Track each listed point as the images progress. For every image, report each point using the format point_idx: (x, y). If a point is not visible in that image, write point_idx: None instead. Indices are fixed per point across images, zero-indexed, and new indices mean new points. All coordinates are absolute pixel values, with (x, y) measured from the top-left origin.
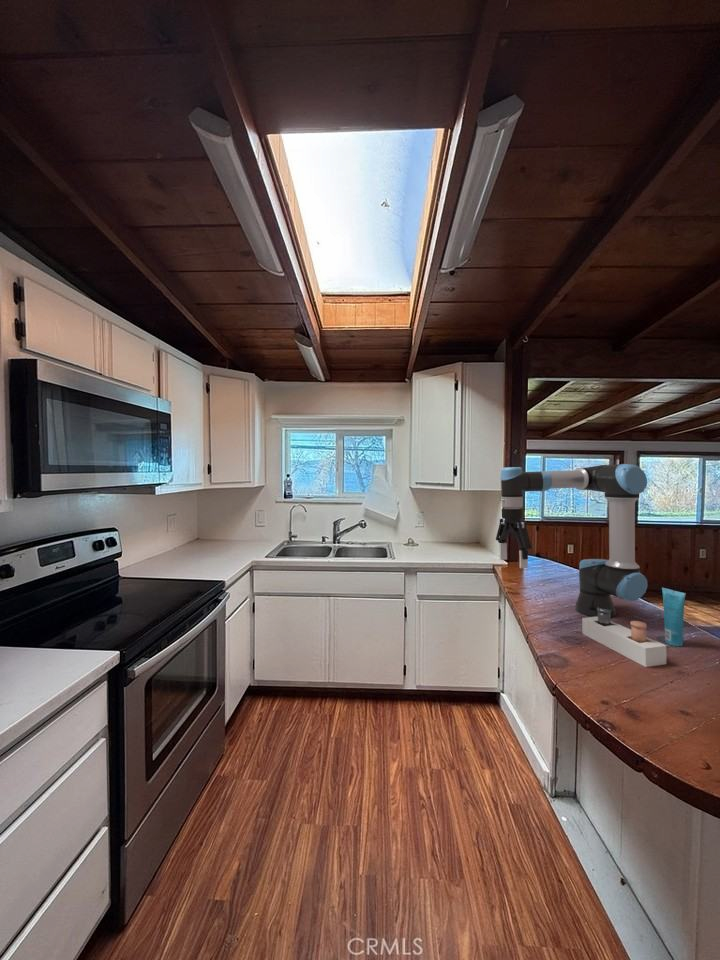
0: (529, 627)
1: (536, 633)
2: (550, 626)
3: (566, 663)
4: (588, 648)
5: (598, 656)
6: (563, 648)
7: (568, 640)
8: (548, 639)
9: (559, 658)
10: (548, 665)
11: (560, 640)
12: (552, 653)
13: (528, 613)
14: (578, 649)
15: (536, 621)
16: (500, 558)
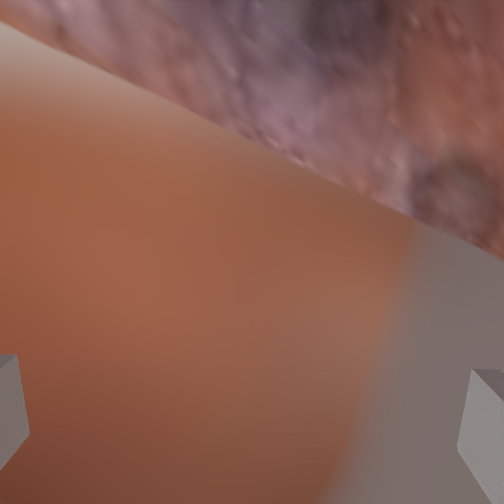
0: (193, 111)
1: (253, 121)
2: (202, 6)
3: (488, 180)
4: (430, 5)
5: (495, 21)
6: (397, 108)
7: (346, 33)
8: (315, 111)
9: (452, 178)
10: (475, 245)
11: (336, 68)
12: (414, 176)
13: (38, 4)
14: (423, 55)
15: (138, 33)
16: (14, 448)
